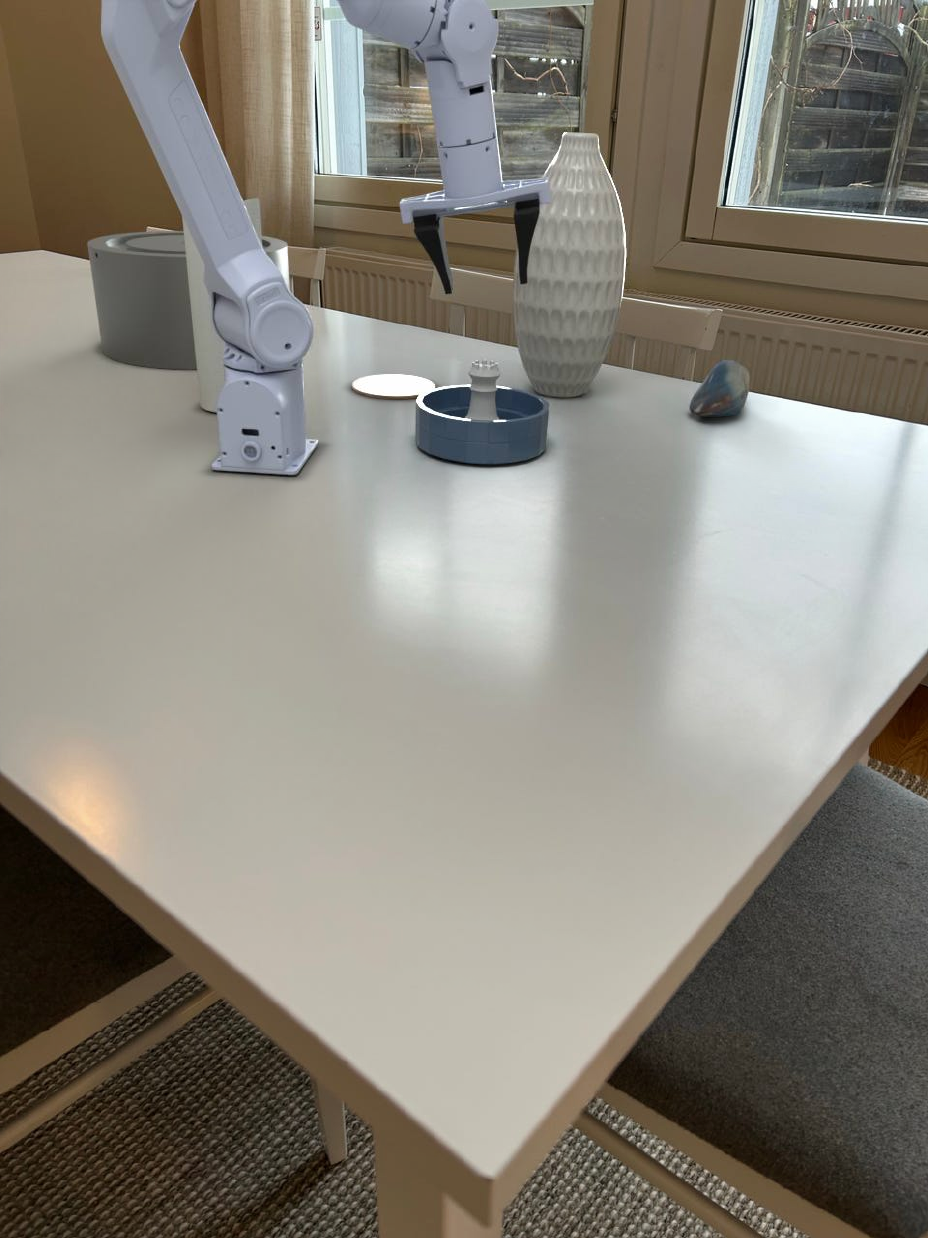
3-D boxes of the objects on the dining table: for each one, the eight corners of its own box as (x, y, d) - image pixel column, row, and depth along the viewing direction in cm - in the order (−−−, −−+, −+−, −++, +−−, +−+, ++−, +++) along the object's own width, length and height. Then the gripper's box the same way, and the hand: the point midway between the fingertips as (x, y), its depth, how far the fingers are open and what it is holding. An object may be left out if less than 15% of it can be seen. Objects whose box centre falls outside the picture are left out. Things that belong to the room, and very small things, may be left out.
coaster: (429, 401, 110) (429, 398, 110) (344, 396, 111) (344, 392, 111) (439, 379, 119) (439, 376, 119) (360, 375, 119) (360, 372, 119)
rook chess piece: (498, 450, 94) (503, 370, 90) (454, 446, 95) (457, 365, 91) (506, 437, 98) (510, 359, 94) (463, 433, 99) (466, 355, 95)
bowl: (545, 471, 90) (548, 425, 88) (407, 463, 91) (408, 417, 89) (546, 430, 102) (549, 388, 100) (424, 422, 103) (425, 381, 101)
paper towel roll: (194, 413, 102) (172, 197, 92) (208, 398, 108) (189, 192, 98) (261, 416, 103) (246, 200, 92) (271, 400, 108) (259, 195, 98)
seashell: (700, 403, 103) (775, 349, 103) (662, 391, 111) (731, 341, 111) (723, 450, 106) (796, 397, 106) (685, 434, 114) (752, 386, 114)
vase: (491, 381, 119) (503, 129, 106) (581, 375, 124) (604, 132, 110) (533, 408, 109) (553, 133, 96) (630, 401, 113) (662, 136, 100)
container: (72, 339, 130) (56, 236, 124) (234, 320, 145) (227, 227, 139) (154, 379, 114) (140, 262, 108) (327, 353, 129) (324, 249, 123)
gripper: (543, 121, 91) (556, 265, 99) (396, 144, 93) (420, 283, 101) (544, 134, 86) (557, 285, 93) (387, 158, 88) (413, 304, 96)
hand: (486, 286), depth 97 cm, fingers open, 7 cm apart
